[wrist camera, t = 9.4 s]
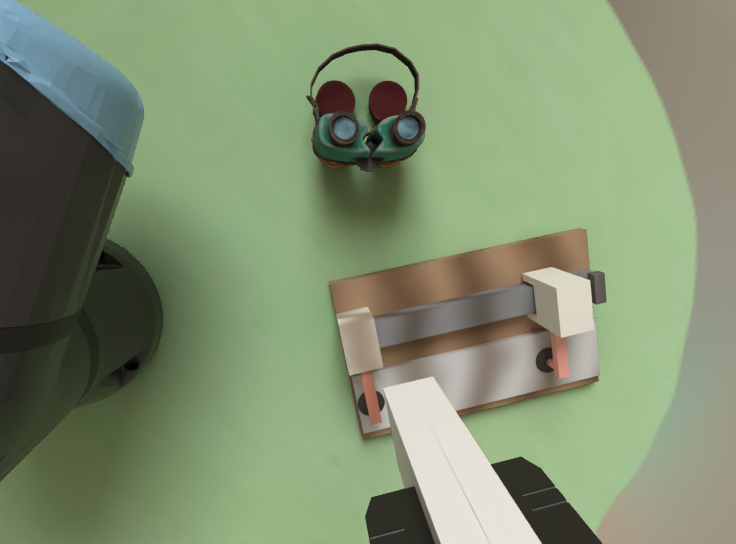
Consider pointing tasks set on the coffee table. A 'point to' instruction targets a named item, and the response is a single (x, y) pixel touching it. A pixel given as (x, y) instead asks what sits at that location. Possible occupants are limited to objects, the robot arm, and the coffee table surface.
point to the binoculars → (346, 132)
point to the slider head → (561, 310)
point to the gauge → (462, 327)
